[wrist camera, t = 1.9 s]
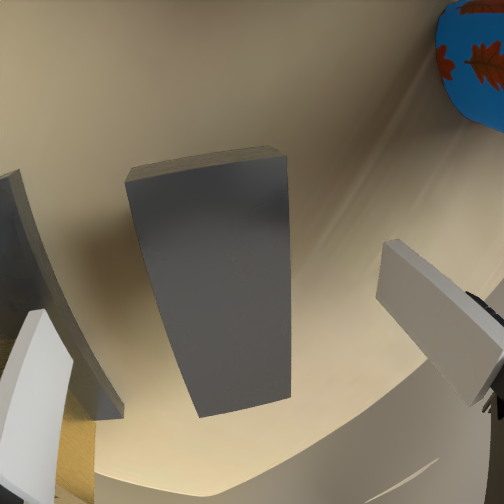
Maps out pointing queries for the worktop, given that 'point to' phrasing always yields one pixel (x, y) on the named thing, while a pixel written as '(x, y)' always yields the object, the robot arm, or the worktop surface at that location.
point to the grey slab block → (220, 271)
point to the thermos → (473, 59)
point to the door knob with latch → (53, 301)
